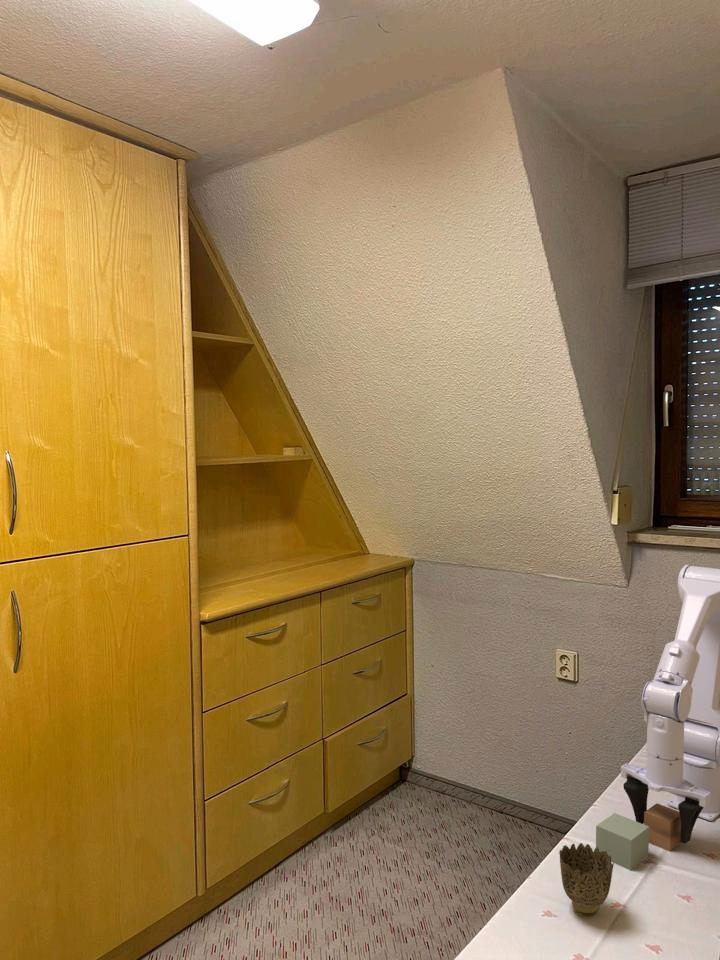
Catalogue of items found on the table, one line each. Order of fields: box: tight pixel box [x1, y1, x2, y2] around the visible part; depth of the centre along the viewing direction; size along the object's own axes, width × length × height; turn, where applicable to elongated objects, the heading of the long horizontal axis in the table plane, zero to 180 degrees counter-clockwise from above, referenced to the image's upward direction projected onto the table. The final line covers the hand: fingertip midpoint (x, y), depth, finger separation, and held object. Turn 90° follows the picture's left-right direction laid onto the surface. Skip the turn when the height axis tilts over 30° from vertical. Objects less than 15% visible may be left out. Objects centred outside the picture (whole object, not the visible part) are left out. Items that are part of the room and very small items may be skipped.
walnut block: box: [644, 803, 682, 853], centre depth 125 cm, size 4×4×5 cm
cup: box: [558, 842, 615, 917], centre depth 106 cm, size 8×7×8 cm
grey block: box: [595, 812, 650, 872], centre depth 120 cm, size 6×6×5 cm
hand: (662, 832), depth 125 cm, fingers open, 7 cm apart
